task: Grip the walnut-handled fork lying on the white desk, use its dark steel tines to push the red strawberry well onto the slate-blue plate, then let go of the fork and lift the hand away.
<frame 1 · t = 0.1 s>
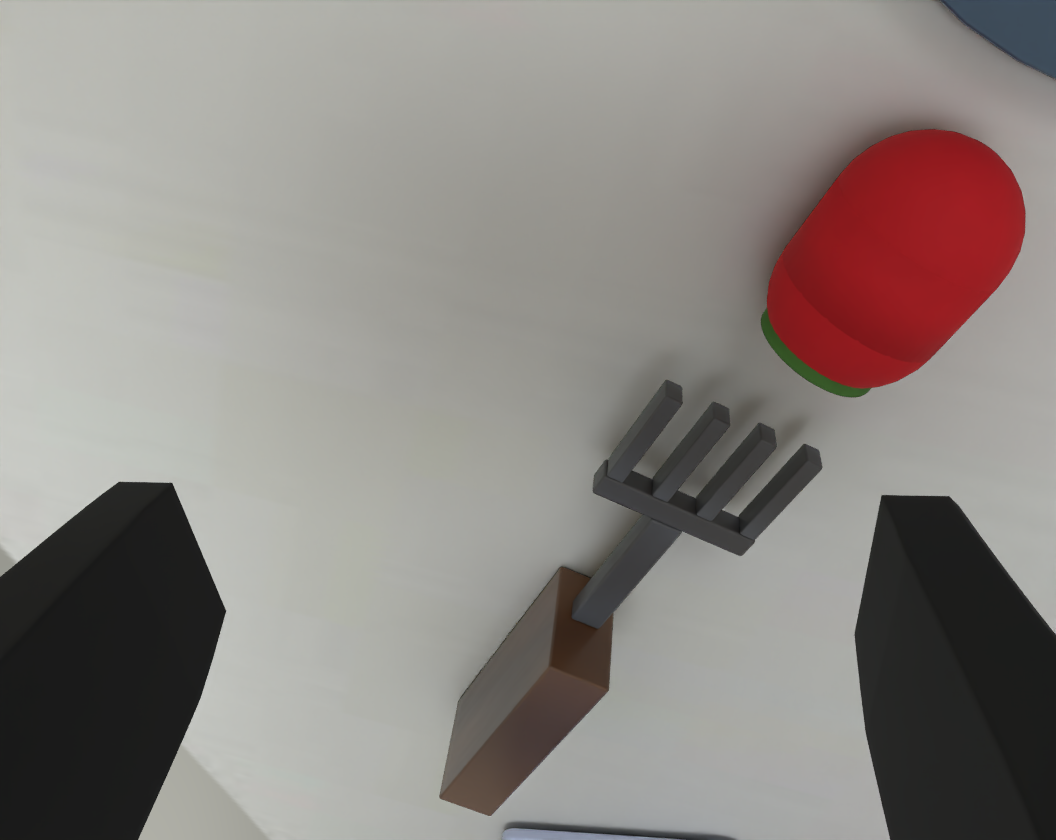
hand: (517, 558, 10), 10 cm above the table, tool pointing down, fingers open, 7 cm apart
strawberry: (873, 221, 18), on the table
fork: (531, 648, 27), on the table
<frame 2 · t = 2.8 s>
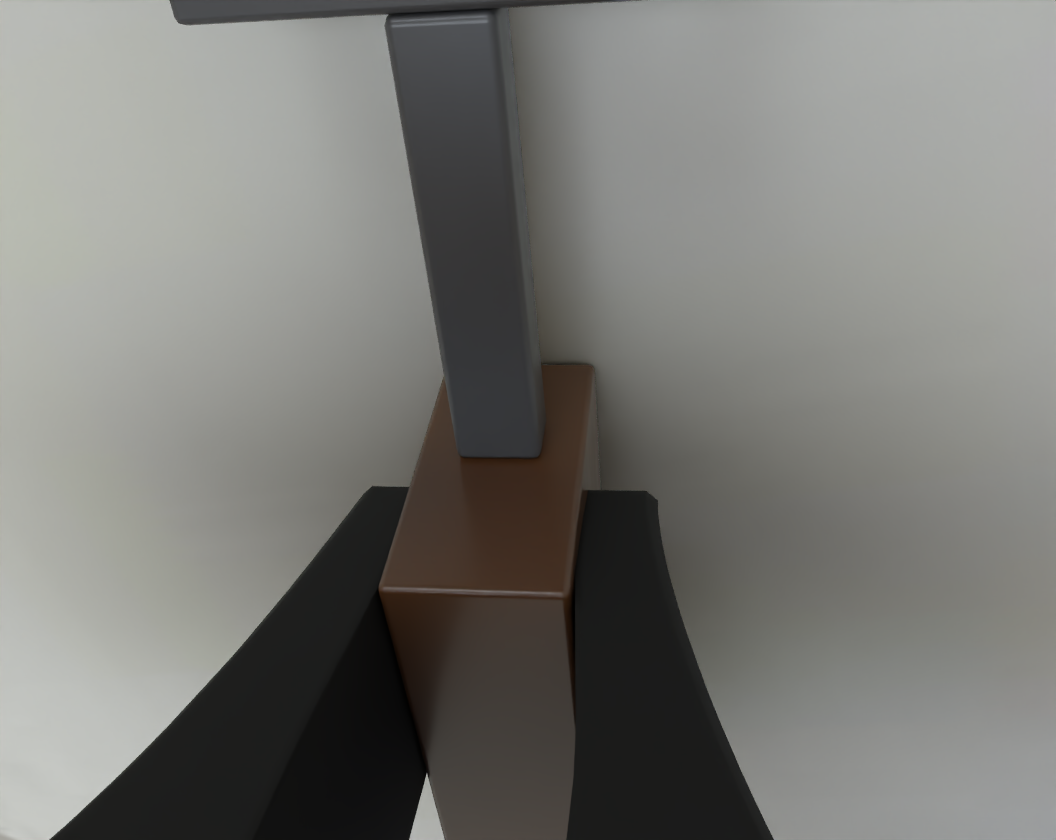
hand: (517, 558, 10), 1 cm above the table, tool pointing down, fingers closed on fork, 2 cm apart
fork: (544, 585, 12), on the table, touching gripper
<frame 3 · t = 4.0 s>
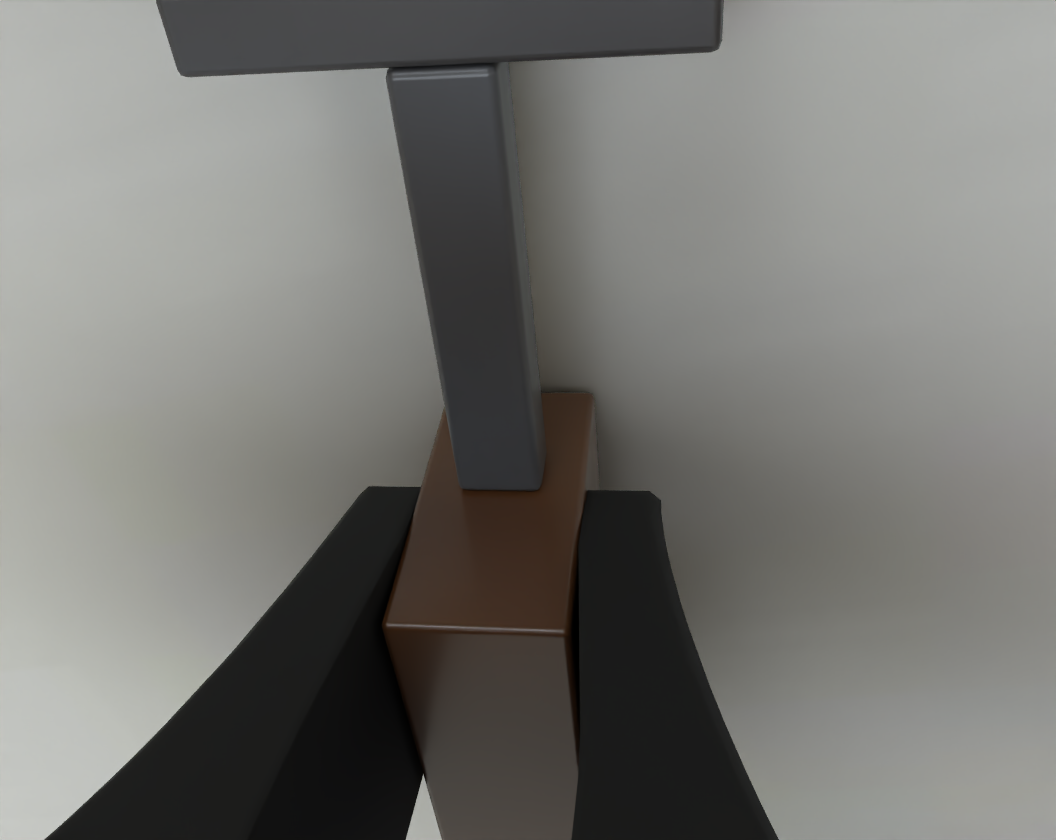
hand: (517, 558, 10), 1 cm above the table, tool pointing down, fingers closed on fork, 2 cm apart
fork: (544, 603, 13), on the table, touching gripper, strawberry
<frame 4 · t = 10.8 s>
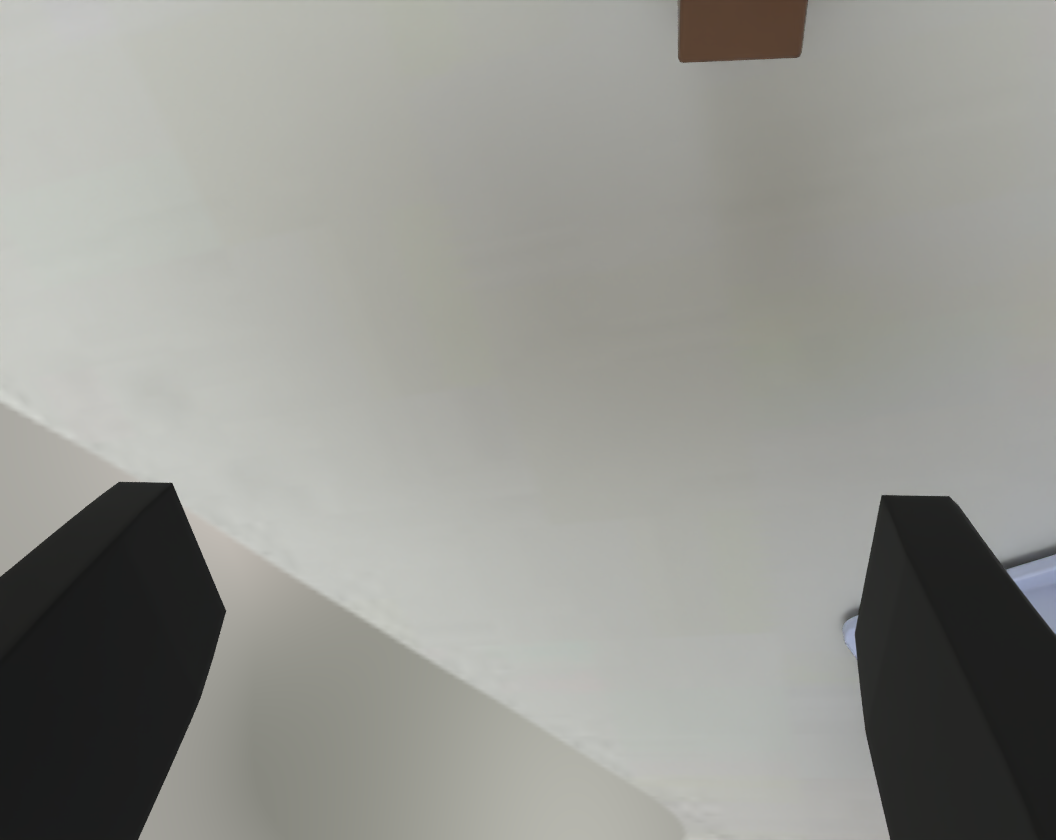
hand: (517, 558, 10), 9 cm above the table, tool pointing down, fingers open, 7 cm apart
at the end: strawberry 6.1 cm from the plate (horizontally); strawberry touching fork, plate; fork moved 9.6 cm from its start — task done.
